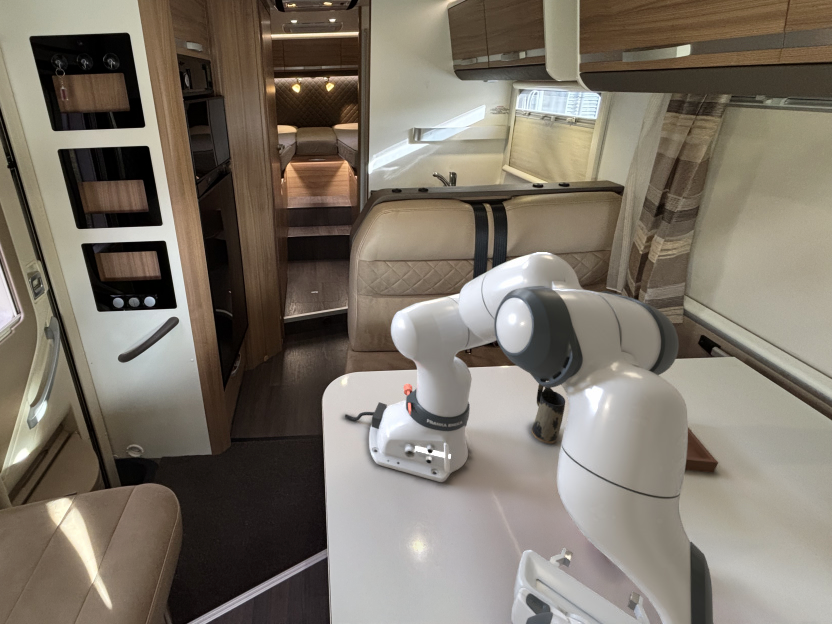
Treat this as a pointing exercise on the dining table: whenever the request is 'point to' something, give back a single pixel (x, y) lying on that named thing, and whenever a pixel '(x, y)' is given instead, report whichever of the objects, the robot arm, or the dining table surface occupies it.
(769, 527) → the dining table surface
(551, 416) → the mug
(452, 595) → the dining table surface
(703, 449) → the tray
